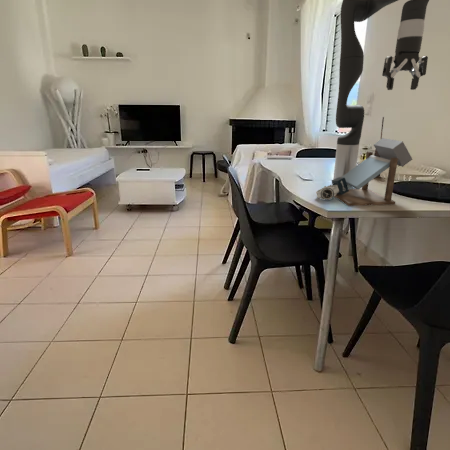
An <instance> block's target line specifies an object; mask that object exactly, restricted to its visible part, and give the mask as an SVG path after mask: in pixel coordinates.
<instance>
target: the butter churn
mask: <svg viewBox="0 0 450 450" xmlns="http://www.w3.org/2000/svg"><path fill="white" fill-rule="evenodd" d="M384 119H385V116H382V120H381V131H380V139H379V140H381V139H382V138H383V137H382V136H383V129H384V121H385V120H384ZM373 156H377V157H380V155H379V153H378V152H377V150H376V148H375V149H374V152H373ZM378 177H381V174H379V175H378V176H376V177H375V178H378Z"/></svg>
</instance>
